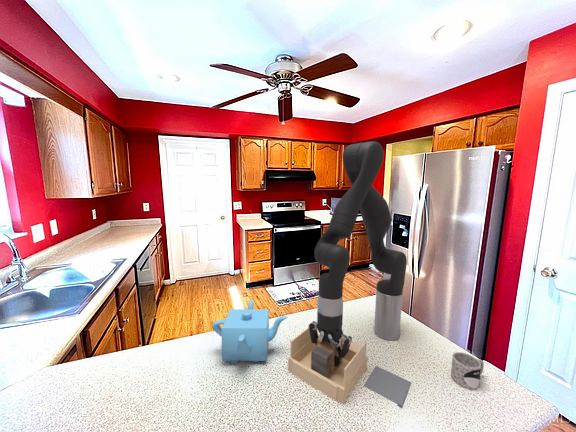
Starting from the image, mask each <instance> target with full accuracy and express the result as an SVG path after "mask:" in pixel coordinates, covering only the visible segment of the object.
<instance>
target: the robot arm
mask: <svg viewBox="0 0 576 432" xmlns="http://www.w3.org/2000/svg"><path fill="white" fill-rule="evenodd" d="M384 156H385V155H384V149H383V146H382V145H381V143H379V142H378V141H366V142H365V141H364V142H358V143H357V142H356V143H352V144H349V145H346V147H345V148H344V150H343V152H342V163H343V167H344V170H345V173H346V176H347V178H348V180H349V182H350V184H351V187H350V188H349V189H348V190H347V191H346V193H344V194H343V196H342V197H341V198H340V199H339V201H338V202H337V204H336V205H335V207H334V209H333V212H332V215H331V218H330V221H329V224H328V226H327V228H326V230H324V233H323V234H322V235H321V237H320V238H319V239H318V242H317V244H316V245H315V248H314V259H315V260H316V263H318V264H319V265H321V266H324V267H326V268H328V269H329V272H326V273H323V274H320V275H319V278H318V296H317V303H316V305H317V307H316V308H317V309H316V311H317V312H316V316H317V317H316V321H317V323H316V321H314V320H313V321H311V322H310V323H309V324H308V327H309V331H310V336H311V342H312V343H315V344H316V346H317V345H318V344H319V343H322V341H323V340H324V341H328V342H329V343H331V346H332V349H334V350H335V358H334V367H336V368H337V367H338V366H339V365H340V364H341V357H343V358H344V357H345V356H346V354H347V353H348V351H349V347H350V344H351V341H353V338H352V336H351V335H348V336H347V335H346V334H344V332H343V314H344V300H343V297H344V296H343V295H344V294H343V289H344V287H343V286H344V281H345V277H346V274H347V271H348V268H349V265H350V260H351V258H350V252H349V250H348V249H347V248H346V247H345V246H343V245H341V244H338V243H339V242H340V241H341V240H343V239H348V238H350V237H351V236H352V233H353V231H354V227H355V224H356V221H357V218H358V215H359V212H360V215H361V219H362V222H363V225H364V228H365V231H366V234H367V238H368V242H369V247H370V254H371V258H372V264H373V267H374V268H375V270H377V271H378V272H381V273H384V274H387V275H390V279H381V280H378V281H377V283H376V288H375V289H376V291H375V292H376V293H375V307H374V308H375V309H374V324H373V332H374V334H375V335H376V336H377V337H379V338H380V339H383V340H387V341H396V340H398V339H399V338H400V334H401V333H400V332H401V318H402V305H403V293H404V292H403V290H404V286H405V278H406V271H407V262H408V260H407V255H406V253H404V252H403V251H398V250H394V249H389V248H387V247H386V246H385V242H384V238H385V237H386V235H387V233H388V231H389V230H390V228H391V225H392V216H391V212H390V207H389V203H388V202H387V200H386V199H385V197H383V195H382V194H381V193H380V191H378V190H377V189H376V188H375V187H374V186H373V185H374V182H375V180H376V179H377V176H378V173H379V172H380V171H381V167H382V165H383V162H384V158H385V157H384ZM318 333H319V338H318ZM340 338H342V343H343V344H344V345H343V348H341V341H340Z"/></svg>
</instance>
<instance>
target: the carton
mask: <svg viewBox="0 0 576 432" xmlns="http://www.w3.org/2000/svg"><path fill="white" fill-rule="evenodd" d="M315 322H316V323H317V320H316V321H315ZM319 335H320V333H319V334H318V338H319ZM367 344H368V343H367V341H365V342H364V343H363V344H359V343H357V342H356V341H353V340H352V341H351V344H350V347H349V351H348V353H347V354H346V356H345V357H344V358H342V360H341V364H340V365H339V366H338V367H337V368H336V367H335V368H334V369H333V370H332V372H331V373H330V374H329V375H328V376H327V378H326V377H324V376H322V375H321V374H319V373H317V372H315V371H314V370H312V369H311V351H312V350H313V349H314V348H315V347H316V344H315V343H312V342H311V336H310V331H309V326H308V327H307V328H306V329H305V330H303V331H302V332H301V333H299V334H298V335H297V336H295V337H294V338H292V339H291V340H290V347H289V348H290V355H289V357H288V359H287V361H288V364H287V365H288V366H287V370H288V371H289V372H291V373H292V375H294V376H295V377H297V378H299V379H300V380H302V381H304V382H305V383H307V384H309V386H311V387H313V388H315V389H316V390H318V391H319V392H321V393H323V394H324V395H326V396H327V397H329V398H330V399H332V400H334V401H335V402H336V401H338V402H339V403H340V404H342V405H344V403H345V402H346V401H347V399H348V397H349V395H351V393H352V391H353V390H354V388H355V387H356V385H357V384H358V382H359V380H360V379H361V378H362V376H363V374H364V373H365V371H367V365H368V356H367Z"/></svg>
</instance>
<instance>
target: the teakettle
mask: <svg viewBox="0 0 576 432" xmlns="http://www.w3.org/2000/svg"><path fill="white" fill-rule="evenodd" d="M287 319H288V316H285V315H283V316H279V317H277V318H276V319H275V321H274V322H273V326H271V328H270V309H260V308H259V309H255V308H254V300H253V299H250V300H249V302H248V307H247V308H246V309H244V308H243V309H240V308H239V309H231V308H230V309H229V311H228V313H227V315H226V317H225V319H219V320H215V321H214V322H213V323H212V329H213V331H214V332H215V333H217V335H218V336H220V337H221V362H229V364H230V365H236V364H238V363H239V362H253V363H259V362H267V360H268V350H269V349H268V347H269V342H271V341H273V340H274V338H276V335H277V333H278V329H279V327H280V324H281V323H282V322H283V321H285V320H287ZM220 325H222V327H221V326H220Z"/></svg>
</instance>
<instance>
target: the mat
mask: <svg viewBox="0 0 576 432" xmlns="http://www.w3.org/2000/svg"><path fill="white" fill-rule="evenodd" d="M411 385H412V382H411V381H409V380H408V379H405V378H403V377H401V376H399V375H397V374H395V373H392V372H391V371H388V370H386V369H384V368H382V367H380V366H378V365H375V367H373V370H372V371H371V373H370V374H369V377H367V379H366V381H365V382H364V384H363V387H365V388H366V389H368V390H370V391H373V392H374V393H376V394H378V395H380V396H382V397H383V398H385V399H386V400H387V399H388V400H389V401H391V402H393V403H395V404H396V406H397V407H399V408H401V409H402V408H403V405H404V403H405V400H406V397H407V395H408V392H409V390H410V387H411Z"/></svg>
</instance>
